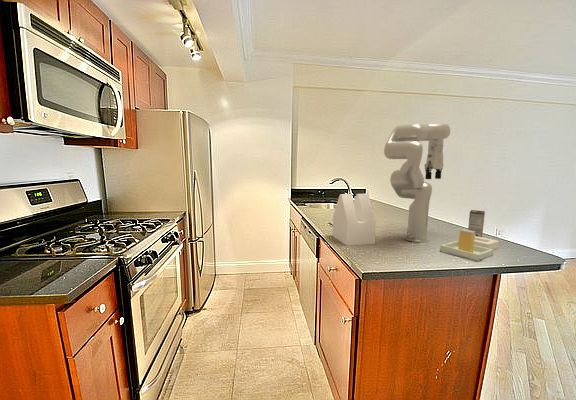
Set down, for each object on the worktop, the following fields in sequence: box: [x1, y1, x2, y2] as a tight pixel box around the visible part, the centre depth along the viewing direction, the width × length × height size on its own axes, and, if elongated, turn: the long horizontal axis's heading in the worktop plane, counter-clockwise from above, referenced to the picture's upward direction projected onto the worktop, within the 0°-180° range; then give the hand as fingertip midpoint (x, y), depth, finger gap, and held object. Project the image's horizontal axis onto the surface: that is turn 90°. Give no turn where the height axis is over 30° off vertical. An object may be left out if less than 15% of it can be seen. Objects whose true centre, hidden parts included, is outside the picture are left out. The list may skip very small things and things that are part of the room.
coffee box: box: [467, 209, 486, 238], centre depth 146 cm, size 9×6×16 cm
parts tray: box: [439, 240, 495, 263], centre depth 125 cm, size 14×16×3 cm
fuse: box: [458, 228, 475, 253], centre depth 125 cm, size 3×5×10 cm, turn 31°
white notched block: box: [332, 193, 376, 246], centre depth 146 cm, size 19×15×25 cm
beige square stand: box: [474, 236, 500, 251], centre depth 134 cm, size 11×11×4 cm
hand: (433, 178), depth 159 cm, fingers open, 9 cm apart
